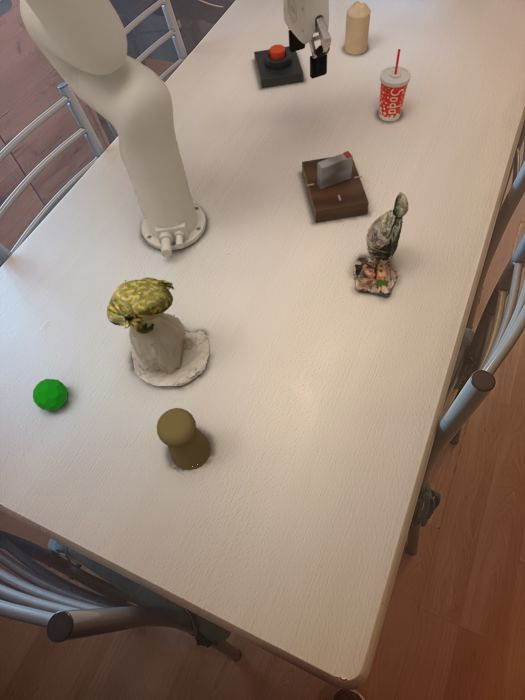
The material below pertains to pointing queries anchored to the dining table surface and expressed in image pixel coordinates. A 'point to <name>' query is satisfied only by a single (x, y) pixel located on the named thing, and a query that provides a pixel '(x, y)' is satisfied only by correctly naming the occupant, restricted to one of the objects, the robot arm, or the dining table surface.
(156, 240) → the robot arm
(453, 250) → the dining table surface
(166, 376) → the mushroom figurine
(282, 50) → the button
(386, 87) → the beverage cup
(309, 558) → the dining table surface
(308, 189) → the dial knob base
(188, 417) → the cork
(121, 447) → the dining table surface
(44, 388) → the polyhedron
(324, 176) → the grey flat block
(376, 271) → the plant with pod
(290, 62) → the button box
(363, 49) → the candle
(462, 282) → the dining table surface
